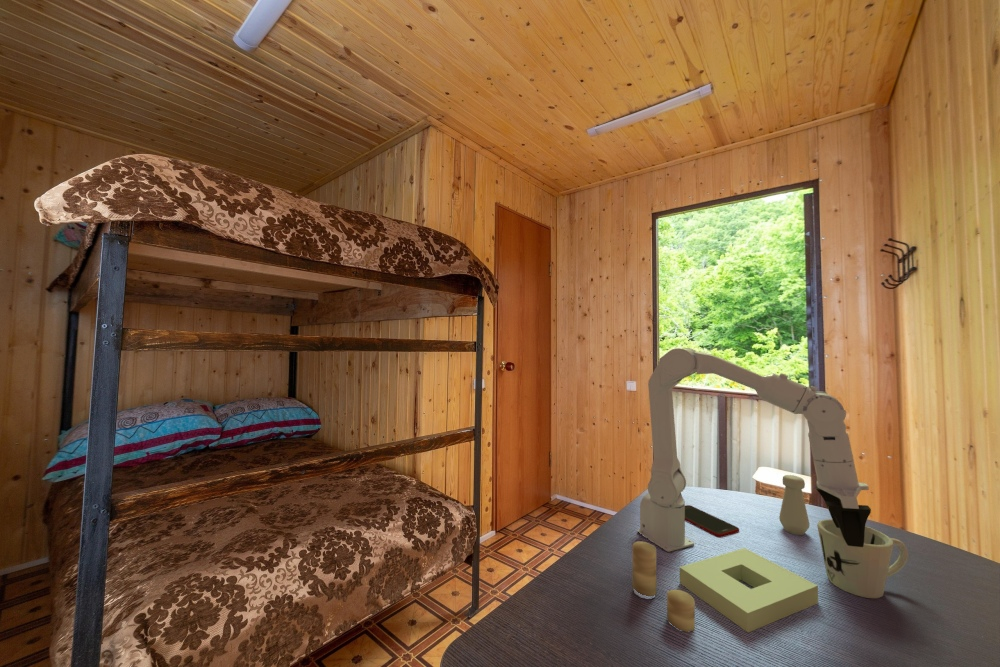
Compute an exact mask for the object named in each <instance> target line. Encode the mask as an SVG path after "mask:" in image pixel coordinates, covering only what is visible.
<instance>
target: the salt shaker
mask: <svg viewBox="0 0 1000 667" xmlns="http://www.w3.org/2000/svg"><path fill="white" fill-rule="evenodd" d="M782 485H783V486H785V488H784V493H783V497H782V502H781V507H780V512H779V518H778V519H779V522H780V524H781V526H782V527H783V530H784V531H785V532H787V533H789V534H792V535H794V536H795V535H796V536H804V535H805V534H806V532H807V531H808V530H809V528H810V520H809V515H808V511H807V506H806V502H805V497H804V492H803V489H805V487H806V486H805V485H806V483H805V480H804V479H803V478H802V477H800V476H797V475H795V474H794V475H793V474H785V475H784V476H782Z"/></svg>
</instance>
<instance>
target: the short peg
mask: <svg viewBox="0 0 1000 667" xmlns="http://www.w3.org/2000/svg"><path fill="white" fill-rule="evenodd" d="M695 601H696V600H695V599H694V597H693V596H692V595H691V594H690V593H688V592H686V591H684V590H680V589H670V590H668V591H667V593H666V610H667V611H666V620H667V619H668V621H669V622H670V623H671V624H672V625H673V626H675V627H676V628H678V629H679V630H682V631H686V632H685V633H689V632H688V631H692V632H693V631H694V630H695V629H694V628H695V626H696V625H695V624H696V622H695V621H696V619H695V617H696V616H695V612H696V611H695V610H696V609H695V606H696V604H695ZM668 621H667V622H668Z"/></svg>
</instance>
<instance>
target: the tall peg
mask: <svg viewBox="0 0 1000 667" xmlns="http://www.w3.org/2000/svg"><path fill="white" fill-rule="evenodd" d="M633 588H634V589H635V590H636V591H637V592H638V593H640V594H642V595H646V596H654V595H655V594H656V595H657V548H656V546H655V545H653V544H651V543H649V542H646V541H634V542H633V543H632V589H633Z"/></svg>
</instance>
